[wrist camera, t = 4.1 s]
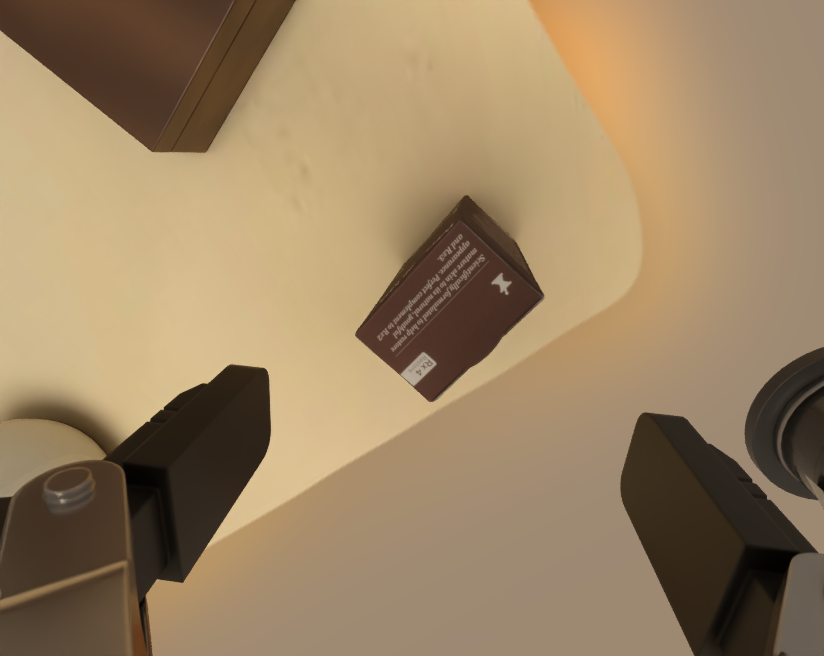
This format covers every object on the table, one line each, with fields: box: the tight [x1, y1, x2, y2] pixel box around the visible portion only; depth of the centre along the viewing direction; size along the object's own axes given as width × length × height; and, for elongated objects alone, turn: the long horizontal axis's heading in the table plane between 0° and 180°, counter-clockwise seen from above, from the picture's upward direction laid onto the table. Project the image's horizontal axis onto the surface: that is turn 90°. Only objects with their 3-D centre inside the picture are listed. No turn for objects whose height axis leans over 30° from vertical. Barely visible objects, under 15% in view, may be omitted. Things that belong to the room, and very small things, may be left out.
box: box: [355, 195, 544, 402], centre depth 22 cm, size 6×4×12 cm
